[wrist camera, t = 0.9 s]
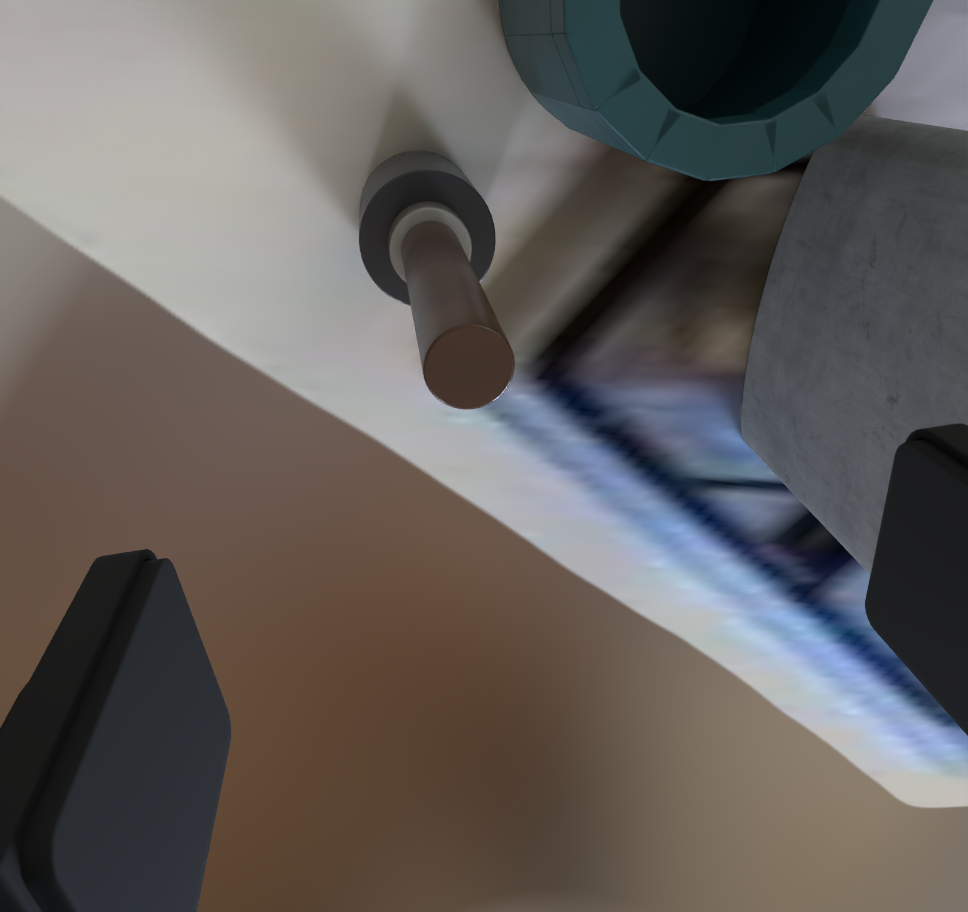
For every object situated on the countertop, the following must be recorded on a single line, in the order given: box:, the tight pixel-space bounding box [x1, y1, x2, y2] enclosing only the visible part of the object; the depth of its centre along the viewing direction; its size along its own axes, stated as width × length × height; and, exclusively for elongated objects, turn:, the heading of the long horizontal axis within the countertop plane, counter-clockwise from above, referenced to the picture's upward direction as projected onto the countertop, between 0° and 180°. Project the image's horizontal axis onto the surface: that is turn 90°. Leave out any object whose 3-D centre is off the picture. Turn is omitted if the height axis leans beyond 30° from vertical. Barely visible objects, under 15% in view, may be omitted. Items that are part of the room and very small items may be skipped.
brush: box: [359, 151, 515, 409], centre depth 23 cm, size 5×5×17 cm
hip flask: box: [741, 115, 968, 575], centre depth 26 cm, size 16×4×20 cm, turn 175°
